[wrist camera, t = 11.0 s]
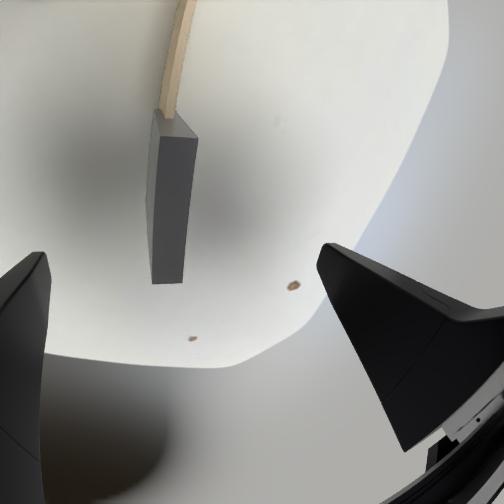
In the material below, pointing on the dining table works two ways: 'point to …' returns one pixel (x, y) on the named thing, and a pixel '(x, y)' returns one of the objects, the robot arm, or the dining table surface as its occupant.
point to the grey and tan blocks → (170, 164)
